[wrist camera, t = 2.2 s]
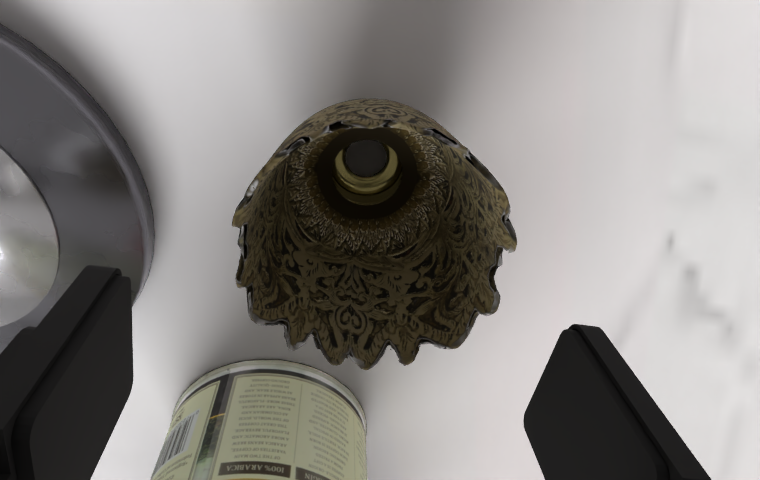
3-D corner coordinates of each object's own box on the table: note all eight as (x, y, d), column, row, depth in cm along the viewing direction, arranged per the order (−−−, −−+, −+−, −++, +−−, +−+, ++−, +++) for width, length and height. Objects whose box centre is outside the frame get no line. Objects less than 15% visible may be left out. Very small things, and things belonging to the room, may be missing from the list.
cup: (278, 41, 18) (234, 99, 11) (480, 75, 19) (557, 150, 12) (264, 227, 22) (224, 360, 15) (435, 248, 23) (474, 383, 16)
